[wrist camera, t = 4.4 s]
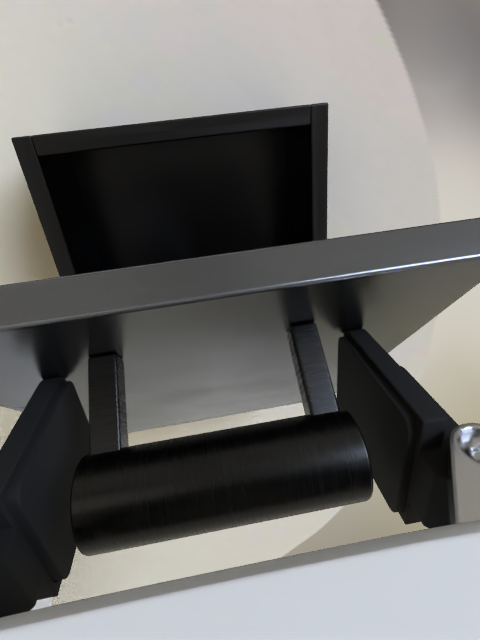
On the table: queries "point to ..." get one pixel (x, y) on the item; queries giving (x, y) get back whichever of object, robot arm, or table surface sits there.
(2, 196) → the table surface
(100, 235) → the open box
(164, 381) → the lid
